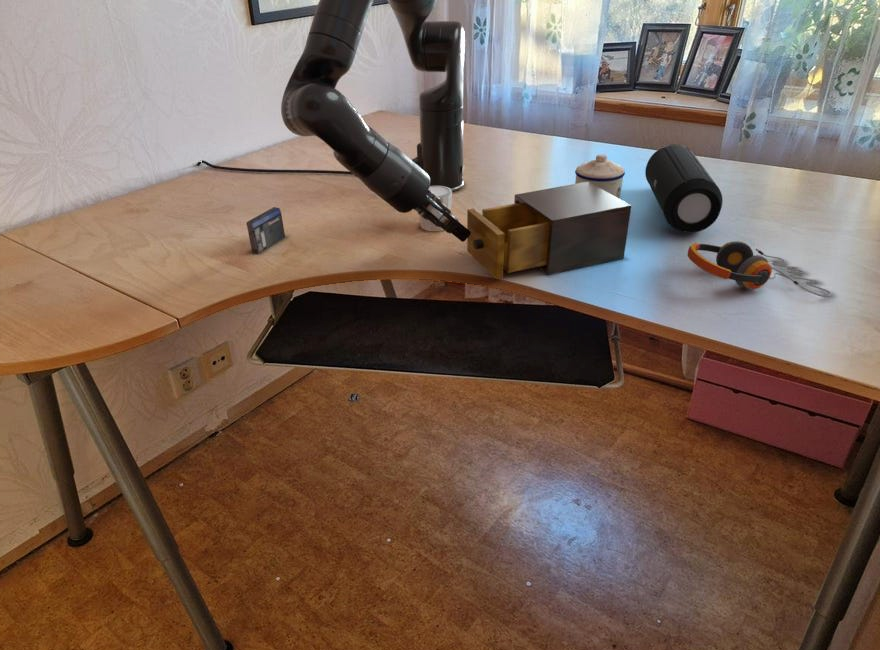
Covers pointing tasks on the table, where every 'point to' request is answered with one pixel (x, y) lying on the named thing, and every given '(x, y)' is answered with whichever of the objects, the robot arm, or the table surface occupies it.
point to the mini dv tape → (265, 230)
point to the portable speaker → (683, 189)
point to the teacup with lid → (601, 174)
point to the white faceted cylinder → (445, 198)
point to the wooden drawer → (507, 238)
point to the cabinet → (580, 225)
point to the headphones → (743, 265)
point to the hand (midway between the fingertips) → (465, 236)
